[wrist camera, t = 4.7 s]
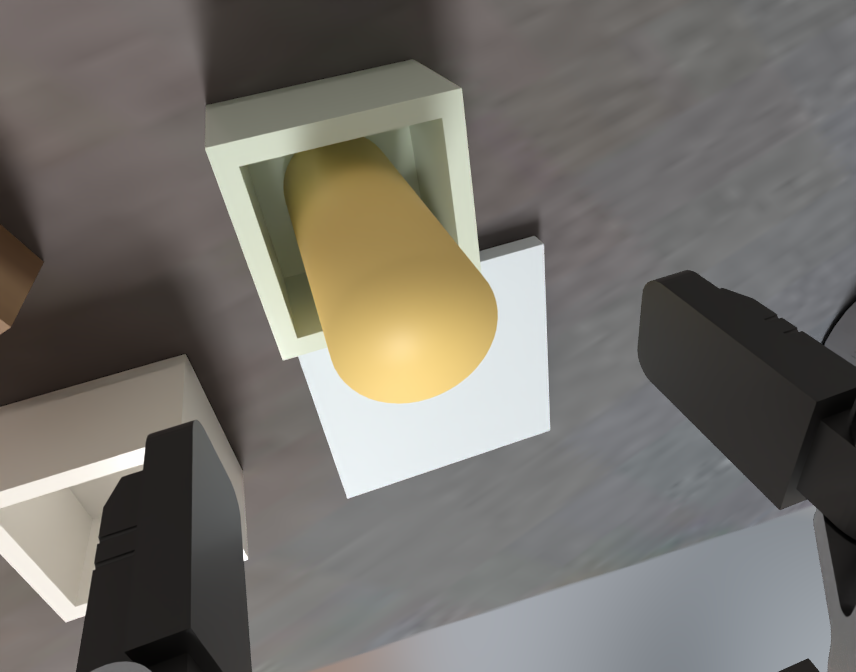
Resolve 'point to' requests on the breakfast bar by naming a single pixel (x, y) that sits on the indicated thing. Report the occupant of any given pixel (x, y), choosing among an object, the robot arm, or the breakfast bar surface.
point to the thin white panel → (456, 408)
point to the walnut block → (14, 276)
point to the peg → (385, 276)
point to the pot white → (88, 468)
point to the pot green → (324, 125)
